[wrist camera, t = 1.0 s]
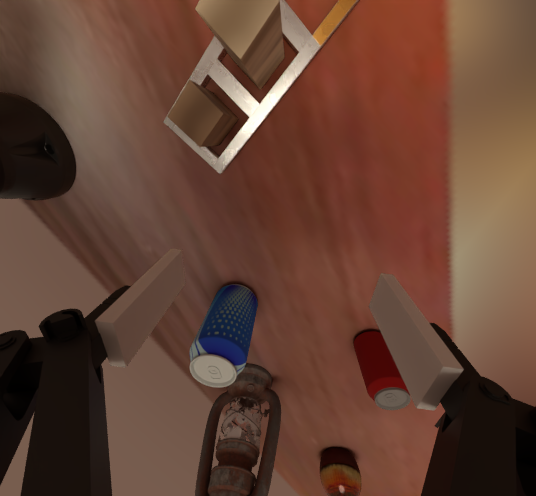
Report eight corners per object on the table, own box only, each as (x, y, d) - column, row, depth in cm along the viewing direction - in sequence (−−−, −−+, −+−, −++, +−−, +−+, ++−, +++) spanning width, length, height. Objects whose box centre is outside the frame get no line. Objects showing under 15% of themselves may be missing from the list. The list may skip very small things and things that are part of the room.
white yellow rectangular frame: (168, 122, 32) (162, 121, 31) (316, -122, 22) (318, -141, 20) (222, 172, 35) (219, 174, 33) (380, -26, 24) (385, -36, 23)
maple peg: (234, 61, 29) (195, 9, 17) (257, 25, 27) (231, -60, 15) (260, 90, 30) (240, 59, 18) (284, 57, 28) (279, 0, 16)
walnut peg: (194, 121, 32) (167, 116, 25) (213, 93, 30) (189, 79, 23) (219, 145, 33) (199, 147, 26) (238, 119, 31) (223, 113, 24)
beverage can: (362, 355, 49) (382, 416, 38) (346, 336, 47) (362, 395, 36) (392, 343, 47) (423, 405, 36) (376, 323, 45) (403, 381, 34)
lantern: (287, 389, 57) (282, 703, 25) (227, 394, 60) (156, 677, 28) (276, 360, 52) (254, 695, 21) (212, 366, 55) (108, 666, 24)
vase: (312, 456, 70) (317, 535, 56) (328, 440, 65) (337, 522, 51) (345, 466, 70) (358, 546, 57) (363, 450, 66) (382, 534, 52)
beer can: (210, 302, 46) (174, 376, 32) (227, 273, 43) (195, 341, 29) (246, 320, 48) (227, 398, 33) (266, 293, 44) (254, 368, 30)
